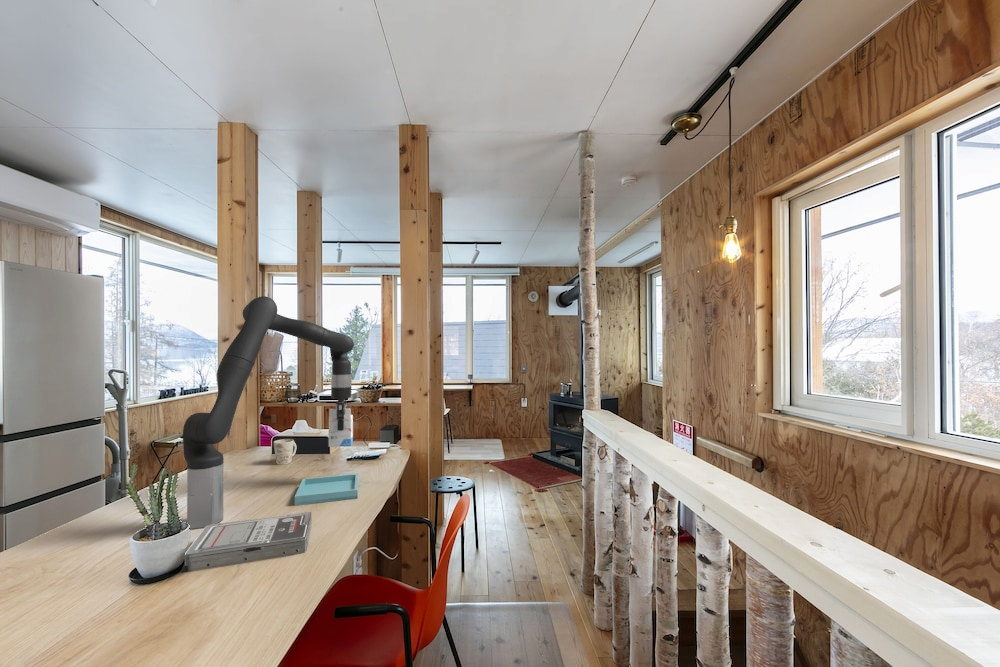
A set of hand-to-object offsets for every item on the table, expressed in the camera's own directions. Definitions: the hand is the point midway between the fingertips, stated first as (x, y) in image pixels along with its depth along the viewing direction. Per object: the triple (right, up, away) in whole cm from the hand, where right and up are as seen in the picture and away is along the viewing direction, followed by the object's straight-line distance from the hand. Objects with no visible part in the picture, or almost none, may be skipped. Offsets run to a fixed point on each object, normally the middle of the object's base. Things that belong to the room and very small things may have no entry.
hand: (340, 428), depth 171 cm
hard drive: (-3, -20, -54) cm, 58 cm away
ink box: (0, -7, 0) cm, 7 cm away
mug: (-36, -22, +29) cm, 51 cm away
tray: (0, -20, -13) cm, 24 cm away
